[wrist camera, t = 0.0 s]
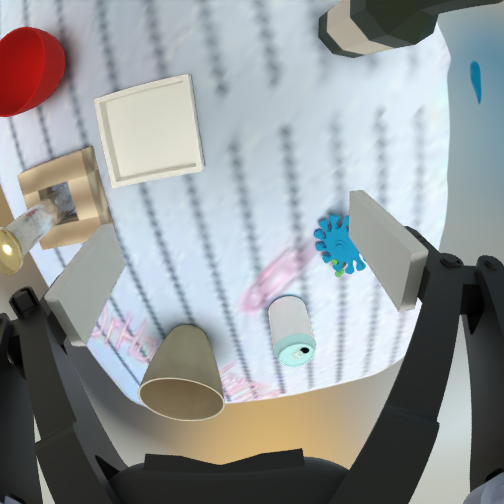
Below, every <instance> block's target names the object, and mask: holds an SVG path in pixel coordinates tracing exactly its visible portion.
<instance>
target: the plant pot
mask: <svg viewBox="0 0 504 504" xmlns="http://www.w3.org/2000/svg"><path fill="white" fill-rule="evenodd" d="M138 397H139V399H140V401H141V402H142V403H143V404H144V405H145V406H146V407H147V408H149V409H150V410H151V411H153V412H155V413H157V414H159V415H161V416H164V417H167V418H171V419H176V420H182V421H199V420H206V419H209V418H212V417H215V416H216V415H218V414H219V413H221V412H222V411H223V409H224V407H225V400H224V395H223V389H222V384H221V379H220V375H219V371H218V367H217V364H216V360H215V357H214V354H213V351H212V349H211V346H210V344H209V341H208V339H207V337H206V335H205V333H204V332H203V331H202V330H201V329H200V328H198V327H196V326H192V325H180V326H177V327H175V328H174V329H173V330H172V331H171V332H170V333H169V335H168V336H167V337H166V339H165V340H164V341H163V343H162V344H161V345H160V347H159V348H158V350H157V352H156V353H155V355H154V357H153V358H152V360H151V362H150V364H149V366H148V368H147V370H146V373H145V375H144V377H143V380H142V382H141V385H140V387H139V390H138Z"/></svg>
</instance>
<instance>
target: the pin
mask: <svg viewBox="0 0 504 504" xmlns="http://www.w3.org/2000/svg"><path fill="white" fill-rule="evenodd" d="M74 208H75V206H74V203H73V200H72V196H71V193H70V190H69V186H68V184H64V185H63V186H61V187H60V188H58V189H57V190H55V191H54V192H52V193H51V194H49V195H48V196H46V197H45V198H44V199H42V200H41V201H39V202H38V203H37V204H35V205H34V206H33V207H31V208H30V209H29V210H27V211H26V212H25V213H23V214H22V215H21V216H19V217H18V218H17V219H16V220H14V221H13V222H12V223H11V224H9V225H8V226H7V227H6V228H4V227H0V272H1V273H2V274H4V275H7V276H12V275H14V274H16V272H17V271H18V270H19V269H20V268H21V267H22V265H23V259H24V255H25V254H26V253H27V252H28V251H29V250H30V249H31V248H32V247H33V246H34V245H35V244H36V243H37V242H38V241H39V240H40V239H42V238H43V237H44V236H45V235H46V234H47V233H48V232H49V231H50V230H51V229H52V228H53V227H54V226H55V225H56V224H57V223H59V222H60V221H61V220H62V219H63V218H64V217H65V216H66V215H68V214H69V213H70V212H71V211H72V210H73V209H74Z"/></svg>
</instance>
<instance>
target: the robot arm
mask: <svg viewBox="0 0 504 504" xmlns="http://www.w3.org/2000/svg"><path fill="white" fill-rule="evenodd" d="M349 238H350V239H351V241H352V242H353V244H354V245H355V246H356V248H357V249H358V251H359V252H360V254H361V255H362V257H363V258H364V259H365V261H366V262H367V264H368V265H369V267H370V268H371V270H372V271H373V273H374V274H375V276H376V277H377V279H378V280H379V282H380V283H381V285H382V286H383V288H384V289H385V291H386V293H387V294H388V296H389V297H390V299H391V300H392V302H393V304H394V305H395V307H396V308H397V310H398V312H403V311H407V310H412V309H415V305H416V302H417V298H419V299H420V301H421V302H422V306H421V309H420V313H419V316H418V319H417V322H416V326H415V329H414V332H413V335H412V338H411V341H410V343H409V346H408V349H407V352H406V354H405V357H404V360H403V362H402V365H401V367H400V370H399V373H398V375H397V377H396V380H395V382H394V385H393V387H392V389H391V392H390V394H389V396H388V398H387V400H386V403H385V405H384V407H383V409H382V411H381V413H380V415H379V417H378V419H377V421H376V423H375V425H374V427H373V430H372V431H371V433H370V435H369V437H368V439H367V441H366V443H365V444H364V446H363V448H362V450H361V452H360V453H359V455H358V457H357V458H356V460H355V462H354V463H353V465H352V467H351V468H350V470H348V469H346V468H344V467H342V466H340V465H339V464H336V463H334V462H331V461H328V460H324V459H320V458H314V457H304V456H303V450H302V448H301V449H295V450H288V451H280V452H271V453H262V454H258V455H255V456H252V457H249V458H245V459H242V460H238V461H235V462H231V463H227V464H223V465H216V464H212V463H207V462H203V461H198V460H195V459H191V458H187V457H182V456H173V455H157V454H145V461H144V463H140V464H136V465H133V466H131V467H128V466H127V465H126V464H125V463H124V462H123V460H122V459H121V457H120V456H119V454H118V453H117V451H116V449H115V448H114V446H113V445H112V442H111V441H110V439H109V437H108V435H107V434H106V432H105V430H104V428H103V427H102V424H101V423H100V421H99V419H98V417H97V415H96V413H95V411H94V409H93V407H92V405H91V403H90V401H89V399H88V396H87V394H86V392H85V390H84V388H83V386H82V383H81V381H80V379H79V376H78V374H77V371H76V369H75V367H74V364H73V362H72V359H71V356H70V354H69V351H68V349H67V347H66V345H65V344H64V340H65V338H66V336H67V337H68V339H69V340H70V342H71V344H72V345H73V346H86V345H87V342H88V340H89V338H90V336H91V333H92V331H93V329H94V327H95V325H96V323H97V321H98V318H99V316H100V314H101V312H102V310H103V308H104V306H105V304H106V302H107V300H108V298H109V296H110V294H111V292H112V290H113V288H114V286H115V284H116V282H117V281H118V279H119V277H120V275H121V273H122V271H123V269H124V267H125V266H126V263H125V260H124V258H123V255H122V252H121V249H120V246H119V243H118V240H117V237H116V234H115V231H114V228H113V225H112V223H109V224H104V225H100V227H99V228H98V229H97V230H96V231H95V232H94V233H93V235H92V236H91V237H90V238H89V239H88V240H87V242H86V243H85V244H84V245H83V246H82V248H81V249H80V250H79V251H78V253H77V254H76V255H75V256H74V257H73V259H72V260H71V261H70V263H69V264H68V265H67V266H66V268H65V269H64V270H63V272H62V273H61V274H60V275H59V276H58V277H57V278H56V279H55V281H54V282H53V284H52V285H51V286H50V289H48V290H47V292H46V293H45V295H44V296H43V297H42V299H41V300H40V302H39V301H38V299H37V297H36V295H35V293H34V291H33V289H32V288H31V287H24V288H21V289H20V290H18V291H17V292H15V293H14V294H13V295H12V297H11V298H10V300H9V303H10V305H11V307H12V309H13V310H14V312H15V314H16V315H17V317H18V319H16V320H13V321H11V320H10V319H9V317H8V316H7V314H6V313H1V314H0V504H43V500H42V493H41V487H40V481H39V474H38V466H37V458H38V461H39V464H40V467H41V470H42V472H43V475H44V478H45V480H46V483H47V486H48V488H49V490H50V493H51V495H52V497H53V500H54V502H55V504H408V503H409V501H410V499H411V497H412V495H413V493H414V491H415V489H416V487H417V485H418V482H419V480H420V478H421V476H422V473H423V471H424V469H425V466H426V464H427V461H428V458H429V456H430V453H431V451H432V448H433V445H434V443H435V440H436V437H437V433H438V430H439V423H438V422H437V417H438V413H439V410H440V407H441V403H442V400H443V396H444V392H445V389H446V385H447V381H448V377H449V372H450V368H451V363H452V358H453V353H454V348H455V342H456V337H457V330H458V323H459V315H461V316H462V321H463V327H464V333H465V338H466V346H467V354H468V363H469V372H470V384H471V404H472V439H471V459H470V494H469V495H468V496H467V498H466V499H465V501H464V503H463V504H504V266H503V264H502V263H501V262H500V261H499V260H498V259H497V258H494V257H493V256H487V255H485V256H484V255H483V256H480V257H479V258H478V261H477V264H476V266H464V265H463V262H462V261H461V260H460V259H459V258H458V257H456V256H454V255H452V254H447V253H439V252H438V251H437V250H436V249H435V248H434V247H433V246H432V245H431V244H430V243H429V242H427V240H426V239H425V238H424V237H422V235H421V234H420V233H419V232H417V231H416V230H414V229H412V228H410V227H408V226H403V225H402V224H400V223H399V222H398V221H397V220H396V219H395V218H394V217H393V216H392V215H391V214H390V213H388V212H387V211H386V210H385V209H384V208H383V207H382V206H381V205H379V204H378V203H377V202H376V201H375V200H374V199H372V198H371V197H370V196H369V195H368V194H367V193H365V192H364V191H363V190H358V191H350V210H349ZM9 360H10V361H11V363H10V361H9ZM34 416H35V420H36V424H37V427H38V430H39V434H40V437H41V440H40V441H38V442H36V443H35V436H34V435H35V434H34ZM36 455H37V458H36Z"/></svg>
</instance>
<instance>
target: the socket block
mask: <svg viewBox="0 0 504 504" xmlns="http://www.w3.org/2000/svg"><path fill="white" fill-rule="evenodd" d="M17 177H18V180H19V184H20V187H21V191H22V194H23V197H24V200H25V203H26V207H27V210H29V209H30V208H31V207H33V206H34V205H35V204H37V203H38V202H39V201H41V200H42V199H44V198H45V197H46V196H48V195H49V194H51V193H52V192H53V191H52V188H51V186H54V185H57V184H60V183H63V182H68V186H69V190H70V193H71V196H72V200H73V203H74V206H75V209H76V212H77V214H72V215H68V216H65V217H64V218H63V219H62V220H61V221H60V222H59V223H57V224H56V225H55V226H54V227H53V228H52V229H51V230H50V231H49V232H48V233H47V234H46V235H45V236H44V237H43V238H42V239H40V240H39V242H40V245H41V247H42V249H43V250H45V249H50V248H55V247H60V246H66V245H71V244H77V243H82V242H87V240H88V239H89V238H90V237H91V236H92V235H93V233H94V232H95V231H96V230H97V229H98V228H99V227H100V225H104V224H109V223H112V225H113V228H114V224H113V221H112V218H111V214H110V211H109V208H108V204H107V201H106V197H105V194H104V190H103V186H102V183H101V179H100V175H99V171H98V167H97V163H96V159H95V154H94V150H93V146H91V147H88V148H84V149H81V150H78V151H75V152H72V153H69V154H66V155H64V156H61V157H58V158H55V159H52V160H50V161H47V162H44V163H42V164H39V165H37V166H34V167H32V168H29V169H28V170H26V171H24V172H22V173H20V174H18V175H17Z"/></svg>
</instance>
